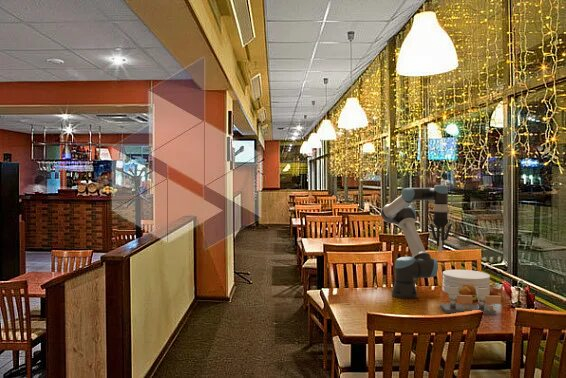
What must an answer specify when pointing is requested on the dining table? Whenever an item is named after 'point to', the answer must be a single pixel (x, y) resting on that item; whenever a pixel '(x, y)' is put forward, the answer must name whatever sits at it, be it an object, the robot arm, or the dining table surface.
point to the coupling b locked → (487, 296)
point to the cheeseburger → (468, 291)
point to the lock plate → (467, 307)
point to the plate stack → (465, 279)
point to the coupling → (459, 298)
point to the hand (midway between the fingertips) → (440, 251)
